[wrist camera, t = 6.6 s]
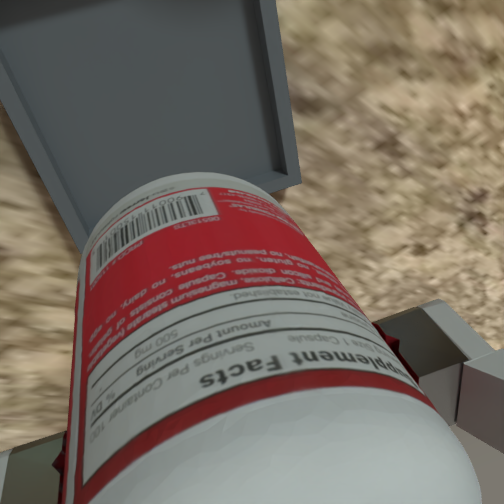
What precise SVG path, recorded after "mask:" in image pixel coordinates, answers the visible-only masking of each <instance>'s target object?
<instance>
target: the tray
mask: <svg viewBox="0 0 504 504" xmlns="http://www.w3.org/2000/svg"><path fill="white" fill-rule="evenodd" d="M0 100H1V102H2V104H3V106H4V108H5V110H6V112H7V114H8V115H9V117H10V119H11V121H12V123H13V125H14V127H15V129H16V131H17V133H18V135H19V137H20V139H21V140H22V142H23V144H24V146H25V148H26V150H27V152H28V154H29V156H30V158H31V160H32V162H33V163H34V165H35V167H36V169H37V171H38V173H39V175H40V177H41V179H42V181H43V183H44V185H45V186H46V188H47V190H48V192H49V194H50V196H51V198H52V200H53V202H54V204H55V206H56V208H57V209H58V211H59V213H60V215H61V217H62V219H63V221H64V223H65V225H66V227H67V229H68V231H69V232H70V234H71V236H72V238H73V240H74V242H75V244H76V246H77V248H78V250H79V252H80V254H83V251H84V248H85V245H86V243H87V241H88V239H89V237H90V235H91V233H92V231H93V229H94V228H95V226H96V225H97V223H98V222H99V221H100V219H101V218H102V217H103V216H104V215H105V214H106V213H107V212H108V211H109V210H110V209H111V208H112V207H113V205H115V204H116V203H117V202H118V201H120V200H121V199H122V198H123V197H125V196H126V195H128V194H129V193H131V192H132V191H134V190H136V189H138V188H139V187H141V186H143V185H145V184H147V183H149V182H152V181H154V180H157V179H159V178H163V177H166V176H171V175H176V174H181V173H191V172H213V173H219V174H225V175H229V176H233V177H236V178H239V179H242V180H245V181H247V182H249V183H251V184H253V185H255V186H257V187H259V188H261V189H262V190H263V191H265V192H266V193H268V194H269V193H273V192H276V191H279V190H282V189H285V188H288V187H291V186H294V185H298V184H301V183H302V180H301V173H300V167H299V160H298V153H297V146H296V139H295V132H294V125H293V118H292V111H291V104H290V98H289V91H288V84H287V77H286V70H285V63H284V56H283V49H282V42H281V35H280V29H279V22H278V15H277V8H276V1H275V0H0Z"/></svg>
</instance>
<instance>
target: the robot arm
mask: <svg viewBox="0 0 504 504" xmlns="http://www.w3.org/2000/svg"><path fill="white" fill-rule="evenodd" d="M372 325H373V326H374V327H375V328H376V329H377V331H378V333H379V334H380V335H381V337H382V338H383V339H384V341H385V342H386V343H387V345H388V346H389V347H390V349H391V350H392V351H393V353H394V354H395V355H396V357H397V358H398V359H399V361H400V362H401V363H402V365H403V366H404V367H405V368H406V370H407V371H408V372H409V374H410V375H411V376H412V378H413V379H414V380H415V381H416V383H417V384H418V385H419V387H420V388H421V389H422V391H423V392H424V393H425V394H426V396H427V397H428V398H429V400H430V401H431V402H432V404H433V405H434V407H435V408H436V410H437V411H438V413H439V414H440V415H441V417H442V418H443V419H444V420H445V422H446V423H447V424H448V426H450V425H453V424H456V423H457V424H456V425H457V426H458V427H460V428H461V429H463V430H465V431H466V432H468V433H470V434H471V435H473V436H475V437H476V438H478V439H480V440H481V441H483V442H485V443H487V444H488V445H490V446H492V447H493V448H495V449H497V450H499V451H500V452H502V453H504V349H499V350H496V351H495V350H494V349H493V348H492V347H491V346H490V345H489V344H488V343H487V342H486V341H485V340H484V339H483V338H482V337H481V336H480V335H479V334H478V333H477V332H476V331H475V330H474V329H473V328H472V327H471V326H469V325H468V324H467V323H466V322H465V321H464V320H463V319H462V318H461V317H460V316H459V315H458V314H457V313H456V312H455V311H454V310H453V309H452V308H451V307H450V306H449V305H448V304H447V303H446V302H445V301H443V300H441V299H436V300H433V301H430V302H428V303H425V304H422V305H419V306H417V307H413V308H410V309H407V310H404V311H402V312H399V313H396V314H393V315H391V316H388V317H385V318H383V319H380V320H377V321H374V322H372ZM66 440H67V431H63V432H60V433H57V434H54V435H51V436H48V437H45V438H42V439H39V440H35V441H32V442H29V443H26V444H23V445H20V446H17V447H14V448H12V449H9V450H6V451H3V452H0V504H61V503H62V491H63V480H64V468H65V453H66Z"/></svg>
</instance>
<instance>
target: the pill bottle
mask: <svg viewBox="0 0 504 504" xmlns="http://www.w3.org/2000/svg"><path fill="white" fill-rule="evenodd" d="M481 498H482V497H481V489H480V486H479V483H478V479H477V476H476V473H475V471H474V468H473V465H472V463H471V461H470V459H469V457H468V455H467V453H466V451H465V450H464V448H463V446H462V444H461V443H460V441H459V440H458V439H457V437H456V436H455V434H454V433H453V432H452V430H451V429H450V427H449V426H448V424H447V423H446V422H445V420H444V419H443V418H442V417H441V415H440V414H439V413H438V411H437V410H436V408H435V407H434V405H433V404H432V402H431V401H430V400H429V398H428V397H427V396H426V394H425V393H424V392H423V391H422V389H421V388H420V387H419V385H418V384H417V383H416V381H415V380H414V379H413V378H412V376H411V375H410V374H409V372H408V371H407V370H406V368H405V367H404V366H403V365H402V363H401V362H400V361H399V359H398V358H397V357H396V355H395V354H394V353H393V351H392V350H391V349H390V347H389V346H388V345H387V343H386V342H385V341H384V339H383V338H382V337H381V335H380V334H379V333H378V331H377V329H376V328H375V327H374V326H373V325H372V323H371V322H370V321H369V319H368V318H367V317H366V315H365V314H364V313H363V311H362V310H361V309H360V307H359V306H358V305H357V303H356V302H355V301H354V299H353V298H352V297H351V295H350V294H349V293H348V292H347V290H346V289H345V288H344V286H343V285H342V284H341V282H340V281H339V280H338V278H337V277H336V276H335V274H334V273H333V272H332V270H331V269H330V268H329V266H328V265H327V264H326V262H325V261H324V260H323V258H322V257H321V256H320V254H319V253H318V252H317V250H316V249H315V248H314V247H313V245H312V244H311V243H310V242H309V240H308V239H307V237H306V236H305V235H304V233H303V232H302V231H301V229H300V228H299V227H298V226H297V224H296V223H295V222H294V220H293V219H292V218H291V217H290V216H289V214H288V213H287V212H286V211H285V210H284V208H283V207H282V206H281V205H280V204H279V203H278V202H277V201H276V200H275V199H274V198H273V197H271V196H270V195H269V194H268V193H266V192H265V191H263V190H262V189H261V188H259V187H257V186H255V185H253V184H251V183H249V182H247V181H245V180H242V179H239V178H236V177H233V176H229V175H225V174H219V173H213V172H191V173H181V174H176V175H171V176H166V177H163V178H159V179H157V180H154V181H152V182H149V183H147V184H145V185H143V186H141V187H139V188H138V189H136V190H134V191H132V192H131V193H129V194H128V195H126V196H125V197H123V198H122V199H121V200H120V201H118V202H117V203H116V204H115V205H113V207H112V208H111V209H110V210H109V211H108V212H107V213H106V214H105V215H104V216H103V217H102V218H101V219H100V221H99V222H98V223H97V225H96V226H95V228H94V229H93V231H92V233H91V235H90V237H89V239H88V241H87V243H86V245H85V248H84V251H83V254H82V257H81V261H80V266H79V272H78V279H77V292H76V303H75V324H74V341H73V357H72V369H71V382H70V398H69V413H68V427H67V440H66V453H65V468H64V480H63V491H62V503H61V504H482V499H481Z"/></svg>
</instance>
